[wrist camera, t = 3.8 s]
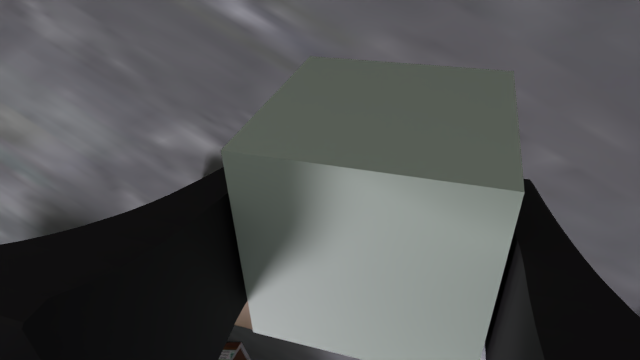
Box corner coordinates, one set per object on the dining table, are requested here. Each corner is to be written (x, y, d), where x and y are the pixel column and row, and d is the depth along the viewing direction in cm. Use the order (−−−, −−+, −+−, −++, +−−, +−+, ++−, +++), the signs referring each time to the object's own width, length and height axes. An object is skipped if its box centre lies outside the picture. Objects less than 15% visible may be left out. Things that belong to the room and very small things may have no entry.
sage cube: (513, 70, 11) (524, 192, 7) (479, 234, 14) (472, 387, 10) (310, 56, 12) (220, 150, 8) (317, 207, 15) (253, 332, 11)
